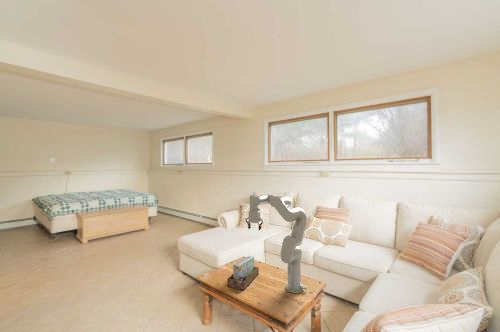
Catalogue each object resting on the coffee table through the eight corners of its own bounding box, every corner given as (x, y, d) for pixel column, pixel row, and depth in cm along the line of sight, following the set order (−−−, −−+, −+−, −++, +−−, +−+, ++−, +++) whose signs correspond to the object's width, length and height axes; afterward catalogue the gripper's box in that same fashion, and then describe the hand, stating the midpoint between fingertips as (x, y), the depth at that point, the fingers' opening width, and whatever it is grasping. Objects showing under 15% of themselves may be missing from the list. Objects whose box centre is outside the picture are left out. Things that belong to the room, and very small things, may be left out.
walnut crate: (258, 274, 196) (258, 267, 195) (243, 290, 171) (243, 282, 171) (243, 271, 202) (243, 264, 201) (227, 286, 177) (227, 279, 177)
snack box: (238, 286, 176) (238, 266, 176) (233, 284, 179) (232, 264, 179) (254, 274, 193) (254, 256, 193) (249, 272, 196) (248, 255, 196)
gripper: (265, 209, 200) (265, 229, 200) (247, 207, 208) (247, 227, 208) (261, 211, 193) (262, 231, 194) (243, 209, 201) (243, 229, 201)
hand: (254, 229), depth 201 cm, fingers open, 9 cm apart
